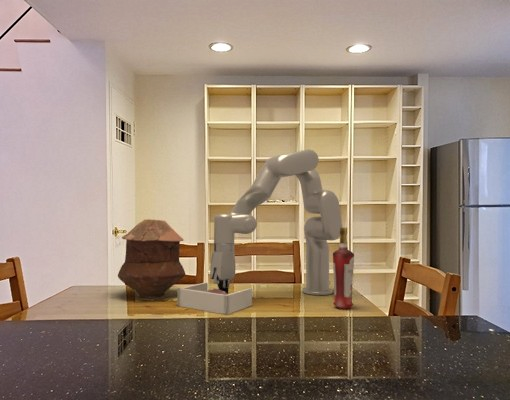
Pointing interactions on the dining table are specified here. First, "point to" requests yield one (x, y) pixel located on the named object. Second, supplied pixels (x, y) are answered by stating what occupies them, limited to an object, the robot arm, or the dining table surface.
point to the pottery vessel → (151, 258)
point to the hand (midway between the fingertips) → (223, 298)
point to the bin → (213, 299)
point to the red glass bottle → (343, 273)
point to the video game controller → (217, 291)
